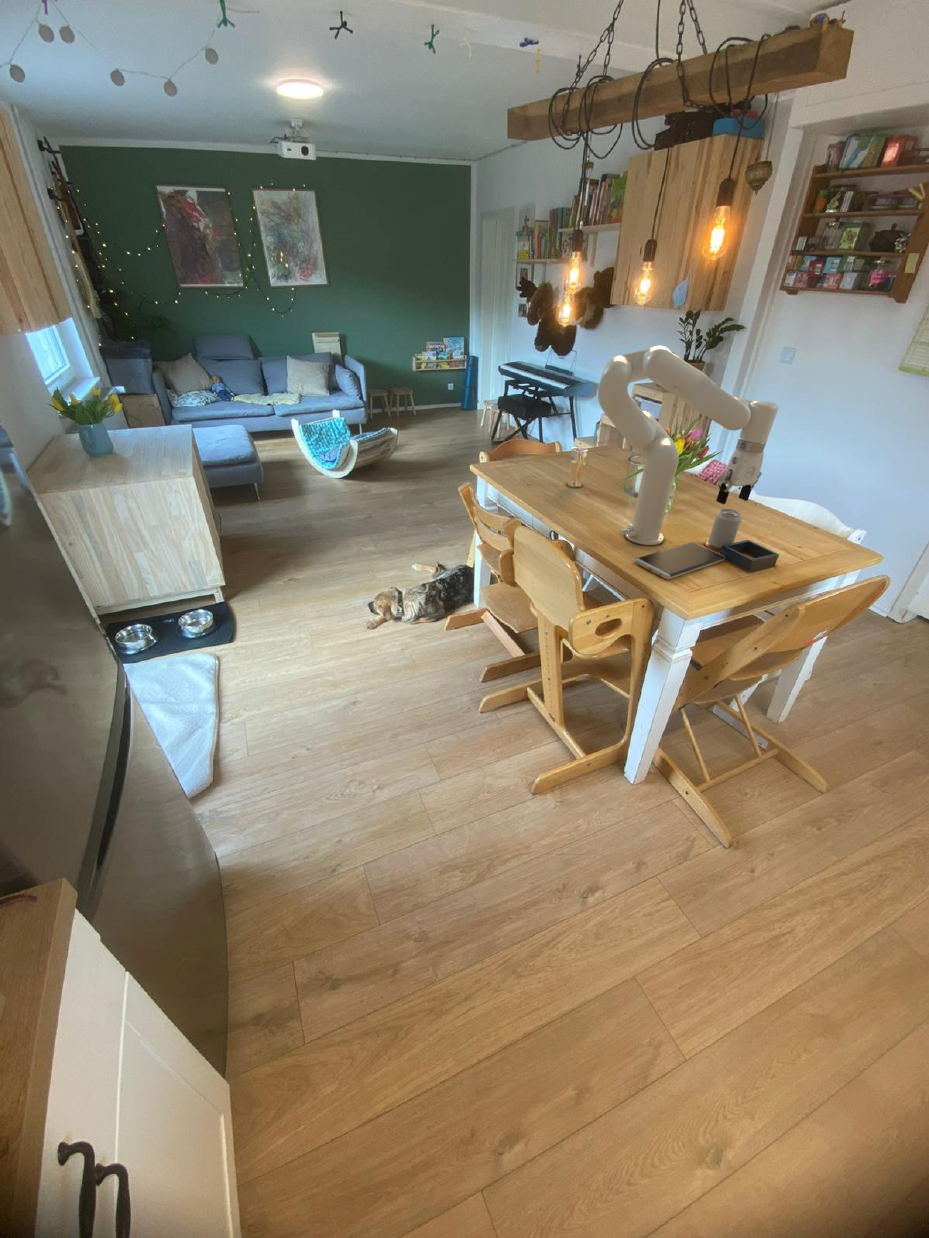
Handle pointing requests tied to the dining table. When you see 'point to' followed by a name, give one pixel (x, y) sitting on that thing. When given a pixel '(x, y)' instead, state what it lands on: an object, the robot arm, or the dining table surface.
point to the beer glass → (577, 466)
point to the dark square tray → (761, 554)
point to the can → (725, 528)
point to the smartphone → (679, 560)
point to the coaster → (712, 547)
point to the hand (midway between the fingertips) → (731, 501)
